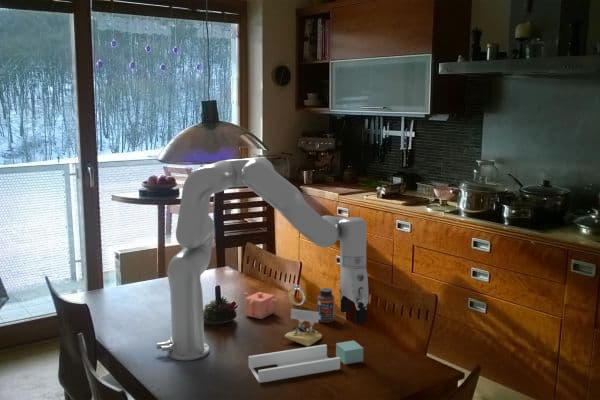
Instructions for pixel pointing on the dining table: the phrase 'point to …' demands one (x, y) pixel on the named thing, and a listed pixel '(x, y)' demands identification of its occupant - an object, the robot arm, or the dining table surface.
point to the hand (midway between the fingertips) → (352, 317)
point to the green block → (349, 352)
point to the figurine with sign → (304, 327)
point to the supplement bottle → (325, 306)
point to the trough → (293, 363)
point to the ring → (301, 292)
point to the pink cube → (259, 305)
